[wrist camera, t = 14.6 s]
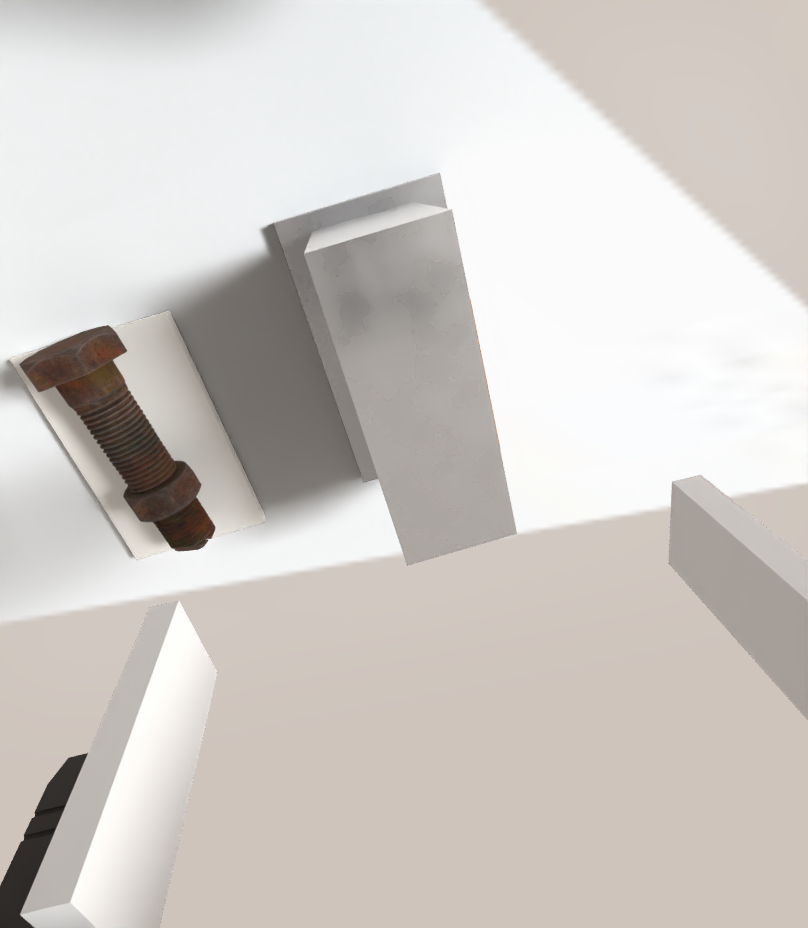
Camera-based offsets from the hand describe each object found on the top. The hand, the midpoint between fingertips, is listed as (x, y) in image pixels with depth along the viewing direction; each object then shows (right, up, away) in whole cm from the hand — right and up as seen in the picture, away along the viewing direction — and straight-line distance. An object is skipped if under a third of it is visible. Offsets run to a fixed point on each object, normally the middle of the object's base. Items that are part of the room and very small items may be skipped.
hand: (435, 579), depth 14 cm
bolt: (-18, +5, +22) cm, 29 cm away
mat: (-18, +4, +23) cm, 30 cm away
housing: (-1, +11, +22) cm, 25 cm away
